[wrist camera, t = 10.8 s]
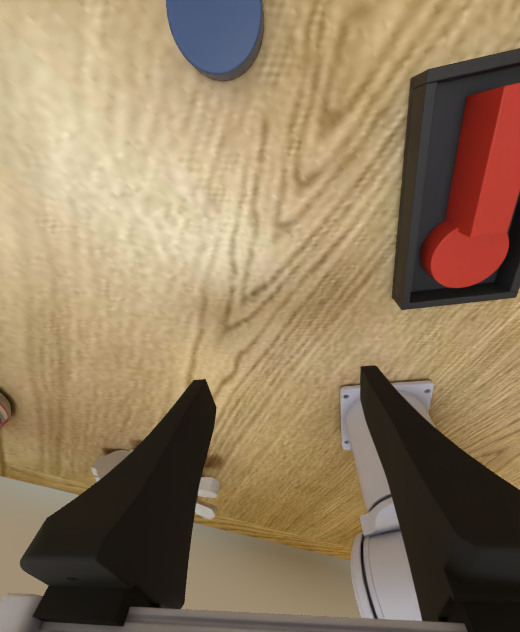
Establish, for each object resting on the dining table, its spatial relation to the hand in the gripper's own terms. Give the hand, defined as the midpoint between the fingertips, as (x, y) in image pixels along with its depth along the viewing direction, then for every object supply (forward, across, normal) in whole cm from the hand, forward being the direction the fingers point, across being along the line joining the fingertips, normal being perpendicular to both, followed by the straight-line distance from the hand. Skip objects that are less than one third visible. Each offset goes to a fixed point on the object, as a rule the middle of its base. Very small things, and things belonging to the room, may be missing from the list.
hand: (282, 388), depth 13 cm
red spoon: (+9, -12, -5) cm, 15 cm away
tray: (+9, -12, -5) cm, 16 cm away
